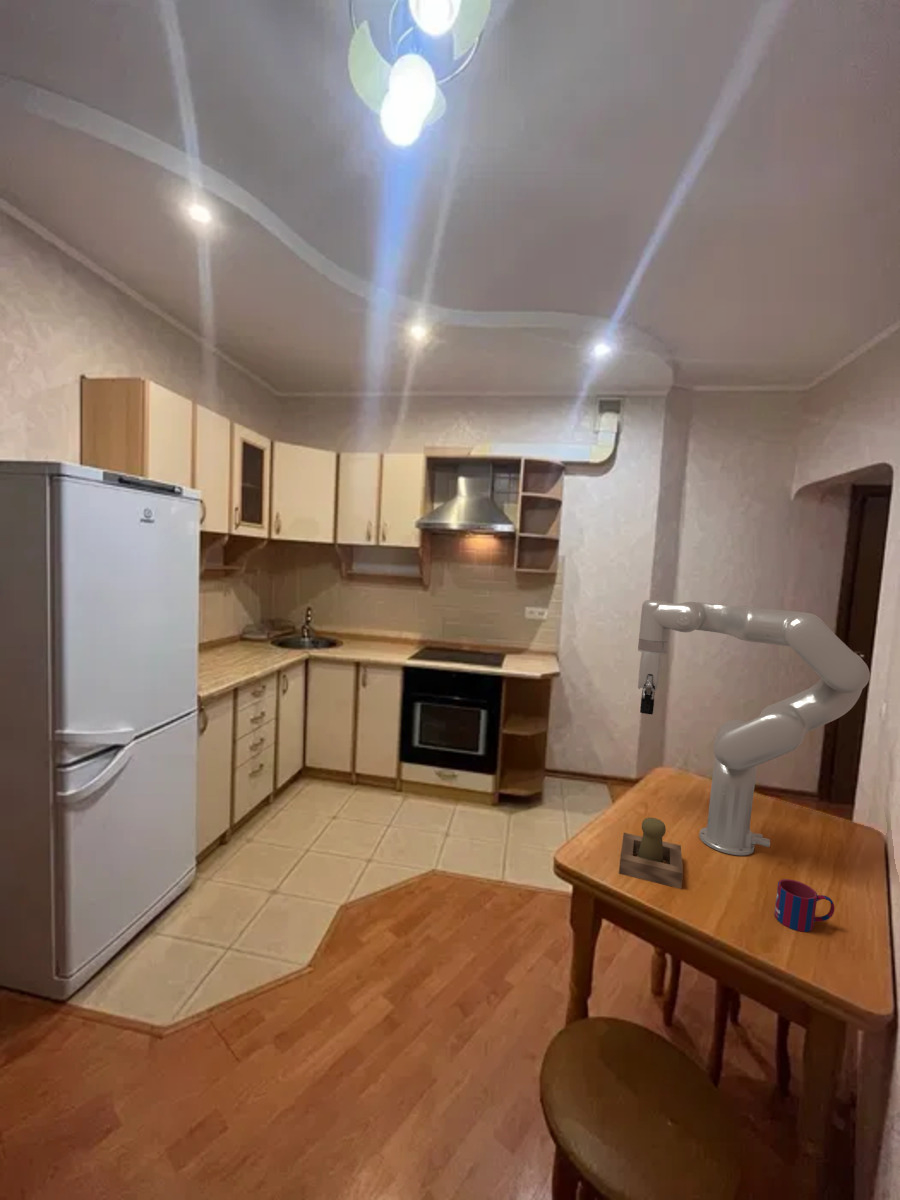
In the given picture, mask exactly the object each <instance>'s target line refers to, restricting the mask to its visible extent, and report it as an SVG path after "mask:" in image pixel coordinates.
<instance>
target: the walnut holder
mask: <svg viewBox="0 0 900 1200" xmlns="http://www.w3.org/2000/svg"><path fill="white" fill-rule="evenodd" d="M642 837H643V836H640V835H637V834H632V833H627V832H623V836H622V841H621V842H622V843H621V851H620V857H619V867H618V868H619V870H618V874H620V875H622V876H623V875H625V876H627V877H628V876H629V877H631V878H635V879H640V880H644V881H649V882H652V883H655V884H656V883H657V884H661V885H664V886H668V887H673V888H676V889H679V888H680V889H682V887H683V877H684V871H683V868H684V867H683V855H682V854H683V853H682V846H681V845H682V844H675V843H672V842H668V841H664V840H662V844H663V863H661V862H657V861H652V860H648V859H644V858H640V857H638V853H639V849H640V845H641V841H642ZM634 855H636V856H634ZM664 862H666V863H664Z"/></svg>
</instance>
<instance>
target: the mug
mask: <svg viewBox="0 0 900 1200" xmlns="http://www.w3.org/2000/svg"><path fill="white" fill-rule="evenodd" d="M821 900H826V901H828V902H829V904H830V909H829V911H828V913H826V914H825V915H822V916H816V911H817V910H816V908H817V904H818V903H817V902H818V901H821ZM774 906H775V907H774V917H775V918H776V919H775V920H776V921H777V922H779V923H780V924H782V926H785V927H786V928H789V929H790V930H793V931H797V932H800V933H801V932H802V933H808V932H812V930H813V929H814V924H815V923H816V922H817V923H818V922H819V923H820V922H826V921H828V920H830V919H831V918H832V917H833V915H834V913H835V904H834V901H833V900H832V898H830V897H829V896H827V895H823V894H818V893H817V892H816V890H814V889H813V888H812V887H811V886H809V885H807V884H806V883H803V882H801V881H797V880H795V879H788V878H787V879H785V878H783V879H780V880H779V881H778V882H777V889H776V898H775V905H774Z"/></svg>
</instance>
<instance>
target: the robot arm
mask: <svg viewBox="0 0 900 1200" xmlns="http://www.w3.org/2000/svg"><path fill="white" fill-rule="evenodd" d="M639 625H640V626H639V634H638V635H639V636H638V645H637V651H639V652H641V653H640V654H641V655H640V660H639V661H640V662H639V668H638V669H639V672H638V681H637V682H638V683H637V689H639V690H640V689H642V691H641V697H640V698H641V701H640V707H639V713H641V714H646V715H654V708H655V692H656V691H657V690H658V687H659V682H660V676H661V670H662V663H663V655H668V651H669V643H670V642H669V640H670V632H671V631H670V630H672V631H676V632H680V633H691V632H694V631H704V632H711V633H718V634H724V635H727V636H728V635H729V636H731V637H734V638H736V639H737V640H741V641H745V642H750V643H758V644H768V645H774V646H781V647H782V646H783V647H790V648H791V649H792V650H793V651H794V652H795V653H796V654H797V655H798V657H799V658H800V659H801V660H802V661H803V662H805V664H806V665H807V666H808V667H809V668H810V669H811V670H812V671H813V672H814V673H815V674H816V675H818V677H820V678H819V680H818V681H817V682H815V684H813V685H812V686H811V687H808V688H807V689H804V690H803V691H801V692H799V693H797V694H794V695H792V696H790V697H787V698H784V699H783V700H780V701H777V702H775V703H773V704H769V705H767V706H766V707H764V708H763V709H762V710H761V712H760V714H759V716H757V717H755V718H753V719H750V720H749V721H746V720H742V719H732V720H728V721H726V722H725V723H723V724H722V725H721V726H720V728H718V731H717V733H716V734H715V738H714V741H713V754H714V762H713V770H712V778H711V779H712V780H711V787H710V796H709V806H708V814H707V815H708V816H707V823H706V824H707V825H706V826H705V827H703V828H701V829H700V830H699V835H698V837H699V838H700V840H701V842H703V843H704V844H705V845H706V846H708V847H709V848H711V849H713V850H716V851H718V852H721V853H724V854H728V855H733V856H749V855H751V854H753V853H754V852H755V846H756V845H759V846H762V847H766V848H770V847H771V839H770V838H766V837H763V835H764V834H762V833H755V832H753V831H751V828H750V826H751V819H752V811H753V810H752V809H753V801H754V794H755V785H756V777H757V770H758V769H757V768H758V766H759V765H762V764H764V763H766V762H769V761H772V760H774V759H777V758H779V757H781V756H784V755H787V754H788V753H791V752H792V751H795V750H796V749H798V748H799V747H800V745H801V744H802V743H803V742H804V740H805V737H806V734H808V733H810V732H811V731H813V730H815V729H818V728H820V727H822V726H825V725H827V724H829V723H830V722H833V721H836V720H837V719H839V718H841V717H842V716H844V715H845V714H847V713H848V712H849V711H850V710H852V708H853V707H854V706H855V705H856V703H857V702H858V700H859V699H860V696H861V694H862V691H863V689H864V688H865V687H866V686H867V685H868V683H869V681H870V677H871V675H870V669H869V667H868V665H867V663H866V662H865V661H864V660H863V658H862V657H861V656H859V655H858V654H857V653H855V652H854V651H853V650H852V649H850V647H848V645H846V643H845V642H844V641H842V639H840V637H838V636H837V635H836V634H835V633H834V632H833V630H832V629H830V627H829V626H828V625H827V624H826V623H825V622H824V621H823V619H821V618H820V617H819V616H817V615H816V614H814V613H810V612H805V611H804V612H802V611H795V610H785V609H784V610H783V609H775V608H765V607H763V608H762V607H757V606H756V607H755V606H742V605H739V606H737V605H728V604H725V605H724V604H717V603H706V602H696V601H686V602H682V603H671V602H669V601H666V600H659V599H657V600H656V599H646V600H644V601H643V602H642V605H641V612H640V623H639Z"/></svg>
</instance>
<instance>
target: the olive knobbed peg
mask: <svg viewBox="0 0 900 1200" xmlns="http://www.w3.org/2000/svg"><path fill="white" fill-rule="evenodd" d="M641 830H642V836H641V837H642V841H641V845H640V849H639V853H638V855H637V857H640V858H644V859H648V860H652V861H657V862H661V863H664V861H663V844H662V841H663V837H664V836H665V835H666V832H667V831H666V825H665V823H664V821H662V820H661V819H659V818H656V817H645V818H644V819H643V820H642V823H641Z"/></svg>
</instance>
